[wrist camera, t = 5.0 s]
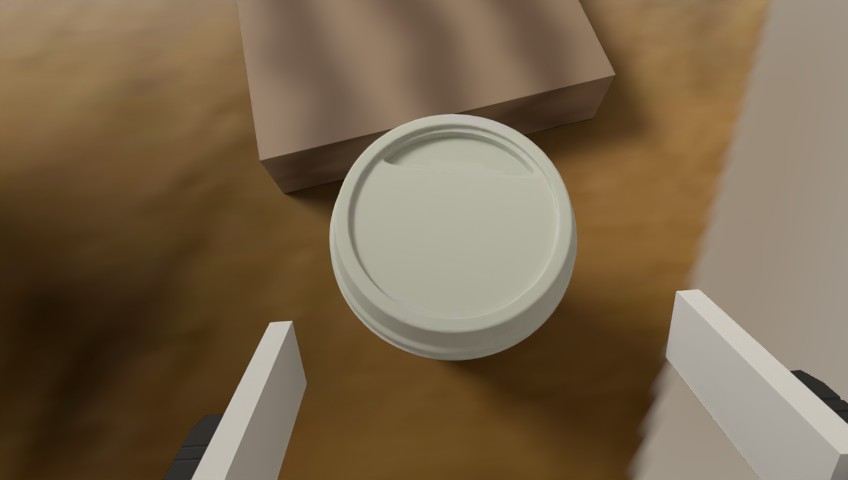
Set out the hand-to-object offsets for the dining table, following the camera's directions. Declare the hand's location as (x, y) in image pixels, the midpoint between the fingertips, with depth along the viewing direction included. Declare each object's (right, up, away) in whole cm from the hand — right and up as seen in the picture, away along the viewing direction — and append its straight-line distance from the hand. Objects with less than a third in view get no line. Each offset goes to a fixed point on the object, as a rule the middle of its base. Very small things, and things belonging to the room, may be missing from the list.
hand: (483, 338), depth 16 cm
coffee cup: (-1, 0, +10) cm, 10 cm away
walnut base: (-3, +18, +16) cm, 24 cm away
